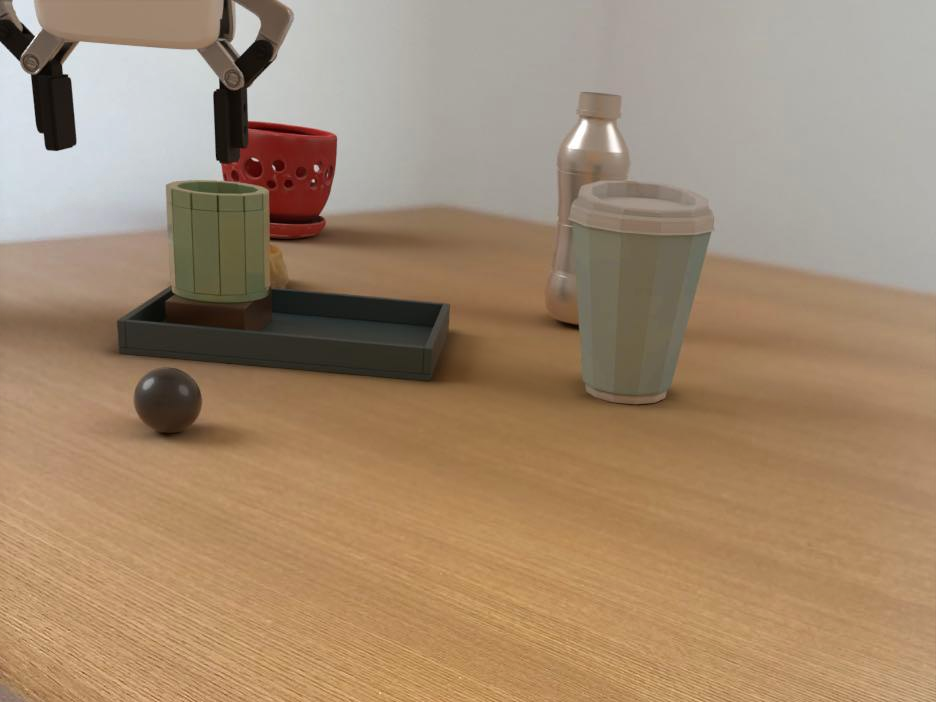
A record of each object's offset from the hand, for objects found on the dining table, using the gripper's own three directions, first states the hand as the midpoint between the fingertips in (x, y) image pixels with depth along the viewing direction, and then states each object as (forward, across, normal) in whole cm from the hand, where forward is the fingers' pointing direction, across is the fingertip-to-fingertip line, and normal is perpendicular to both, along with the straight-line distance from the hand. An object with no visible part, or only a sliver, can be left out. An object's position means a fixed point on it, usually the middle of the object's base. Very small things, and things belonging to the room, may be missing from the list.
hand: (145, 155), depth 66 cm
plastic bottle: (+16, -28, -34) cm, 47 cm away
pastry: (+16, +4, -38) cm, 42 cm away
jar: (+12, +1, -20) cm, 24 cm away
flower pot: (+16, +6, -68) cm, 69 cm away
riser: (+16, +1, -20) cm, 26 cm away
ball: (+14, -1, +3) cm, 14 cm away
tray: (+16, -5, -20) cm, 26 cm away
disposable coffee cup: (+16, -31, -13) cm, 37 cm away
